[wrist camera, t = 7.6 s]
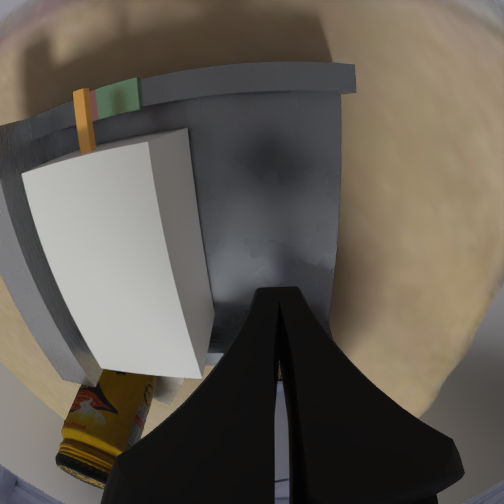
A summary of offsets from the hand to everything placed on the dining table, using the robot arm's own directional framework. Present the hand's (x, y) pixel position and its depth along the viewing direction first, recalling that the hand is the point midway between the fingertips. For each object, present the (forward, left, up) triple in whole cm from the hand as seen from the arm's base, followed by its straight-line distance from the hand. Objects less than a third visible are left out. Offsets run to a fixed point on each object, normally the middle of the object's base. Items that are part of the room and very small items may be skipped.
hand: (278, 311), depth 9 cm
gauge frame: (0, +6, -7) cm, 9 cm away
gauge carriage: (+1, +7, -6) cm, 9 cm away
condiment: (-13, +12, -8) cm, 20 cm away
